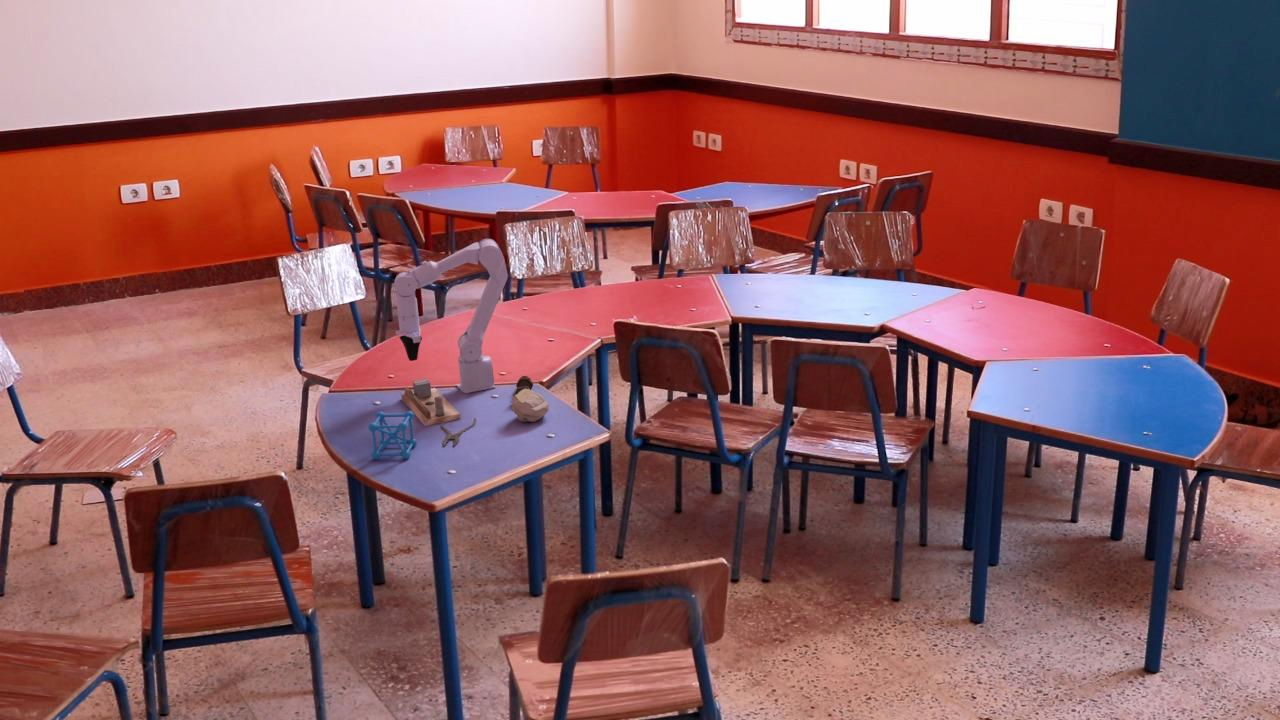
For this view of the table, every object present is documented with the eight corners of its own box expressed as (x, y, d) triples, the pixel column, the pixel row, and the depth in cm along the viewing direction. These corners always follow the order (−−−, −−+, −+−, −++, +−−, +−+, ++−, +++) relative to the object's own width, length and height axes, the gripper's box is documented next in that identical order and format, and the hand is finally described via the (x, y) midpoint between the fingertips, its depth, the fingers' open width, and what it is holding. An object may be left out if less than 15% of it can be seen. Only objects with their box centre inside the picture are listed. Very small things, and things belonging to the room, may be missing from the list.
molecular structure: (370, 461, 312) (366, 424, 309) (380, 445, 321) (376, 410, 318) (409, 460, 311) (405, 424, 308) (418, 445, 321) (414, 409, 318)
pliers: (475, 415, 338) (480, 442, 320) (476, 418, 338) (480, 445, 320) (440, 418, 337) (442, 446, 318) (440, 421, 337) (443, 449, 318)
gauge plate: (435, 392, 358) (433, 371, 356) (460, 418, 337) (458, 396, 335) (401, 398, 354) (399, 377, 352) (425, 425, 333) (422, 403, 331)
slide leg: (427, 391, 353) (426, 378, 352) (431, 395, 350) (430, 382, 349) (413, 394, 352) (412, 380, 350) (417, 398, 348) (416, 384, 347)
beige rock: (550, 410, 341) (514, 415, 341) (545, 381, 339) (509, 387, 339) (551, 423, 330) (514, 428, 329) (546, 393, 327) (509, 399, 327)
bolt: (528, 392, 360) (526, 409, 346) (513, 385, 360) (510, 401, 345) (537, 375, 359) (535, 391, 345) (521, 368, 358) (519, 384, 344)
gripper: (387, 310, 354) (392, 355, 359) (401, 323, 342) (406, 369, 346) (411, 306, 357) (416, 351, 362) (425, 319, 345) (430, 365, 349)
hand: (413, 359), depth 354 cm, fingers closed
